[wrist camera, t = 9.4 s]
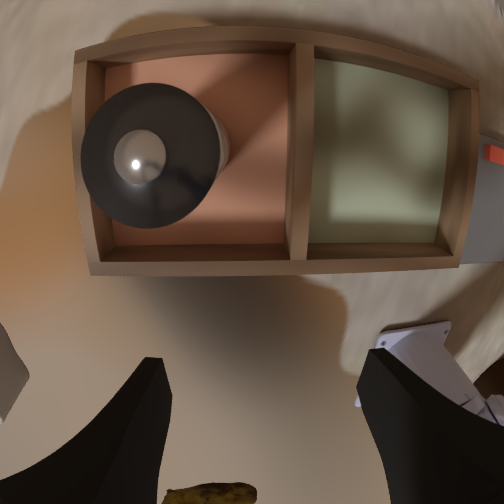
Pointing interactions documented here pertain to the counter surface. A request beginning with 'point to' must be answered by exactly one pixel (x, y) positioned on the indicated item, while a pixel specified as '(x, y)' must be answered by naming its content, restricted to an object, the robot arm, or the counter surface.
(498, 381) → the olive oil
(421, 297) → the counter surface
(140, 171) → the cell
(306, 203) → the sorting tray
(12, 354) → the lumpy-topped squat cylinder
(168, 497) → the potato
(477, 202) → the grey square base plate
